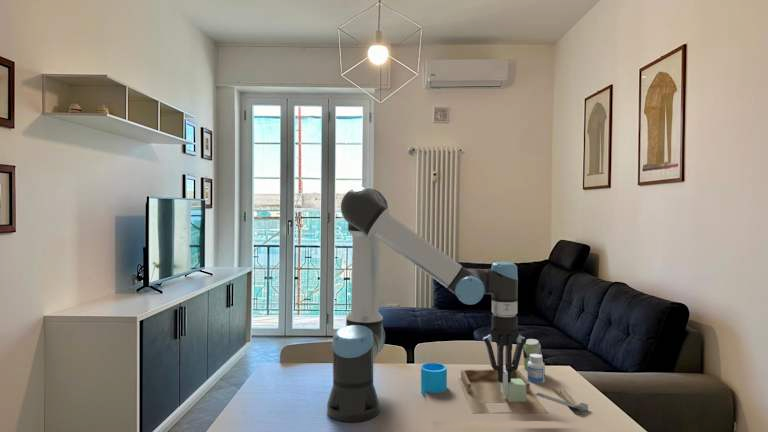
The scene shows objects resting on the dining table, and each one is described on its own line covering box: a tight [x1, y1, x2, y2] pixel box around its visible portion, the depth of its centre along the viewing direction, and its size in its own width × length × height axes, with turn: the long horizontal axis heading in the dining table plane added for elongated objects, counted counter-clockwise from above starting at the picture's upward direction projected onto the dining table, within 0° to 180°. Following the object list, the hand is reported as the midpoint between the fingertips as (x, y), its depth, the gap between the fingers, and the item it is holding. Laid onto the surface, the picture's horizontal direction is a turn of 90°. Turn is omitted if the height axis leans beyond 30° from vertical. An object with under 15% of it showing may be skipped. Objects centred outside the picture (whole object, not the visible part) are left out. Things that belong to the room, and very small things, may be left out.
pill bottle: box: [527, 354, 546, 384], centre depth 155 cm, size 6×5×10 cm
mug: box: [420, 362, 448, 397], centre depth 151 cm, size 12×8×8 cm
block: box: [505, 379, 526, 402], centre depth 141 cm, size 5×5×5 cm
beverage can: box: [522, 338, 542, 372], centre depth 165 cm, size 6×7×12 cm
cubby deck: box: [457, 368, 549, 414], centre depth 144 cm, size 21×26×4 cm
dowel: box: [559, 389, 578, 406], centre depth 142 cm, size 2×12×2 cm, turn 177°
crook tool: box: [534, 392, 589, 416], centre depth 140 cm, size 5×14×2 cm, turn 39°
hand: (504, 392), depth 141 cm, fingers closed
